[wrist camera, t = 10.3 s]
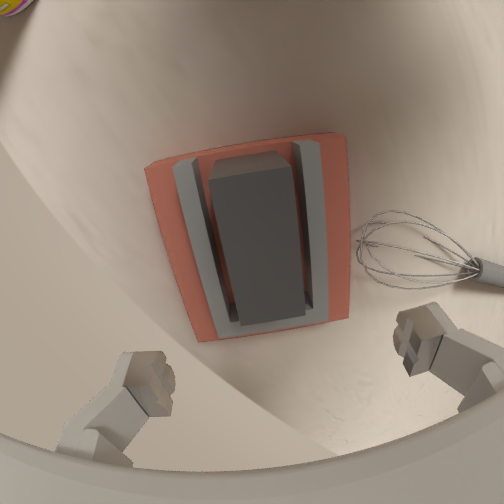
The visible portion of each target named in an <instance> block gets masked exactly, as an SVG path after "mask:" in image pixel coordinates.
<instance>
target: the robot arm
mask: <svg viewBox="0 0 504 504" xmlns="http://www.w3.org/2000/svg"><path fill="white" fill-rule="evenodd" d="M396 321H397V323H398V324H399V325H398V326H397V327H396V328H395V329H394V334H393V342H394V346H395V349H396V351H397V353H398V355H400V356H402V357H404V360H403V365H404V367H405V369H406V371H407V373H408V375H409V377H411V376H414V375H417V374H420V373H423V372H426V371H429V370H430V371H429V372H431V373H432V374H434V375H435V376H437V377H438V378H439V379H441V380H442V381H444V382H445V383H447V384H448V385H449V386H451V387H452V388H454V389H455V390H457V391H458V392H459V393H461V394H462V395H464V396H465V397H464V398H463V400H462V401H461V403H460V404H459V406H458V408H457V410H458V412H459V414H457V415H454V416H452V417H450V418H448V419H446V420H444V421H442V422H439V423H437V424H435V425H432V426H430V427H428V428H425V429H423V430H420V431H418V432H415V433H413V434H410V435H407V436H404V437H402V438H399V439H396V440H393V441H390V442H387V443H384V444H381V445H378V446H374V447H371V448H368V449H364V450H361V451H357V452H353V453H349V454H345V455H341V456H337V457H332V458H328V459H323V460H318V461H313V462H308V463H302V464H296V465H289V466H282V467H274V468H265V469H255V470H242V471H224V472H184V471H183V472H182V471H165V470H151V469H142V468H133V462H132V461H131V460H130V459H129V458H128V457H127V456H125V455H124V454H123V453H122V452H123V450H124V449H125V448H126V447H127V446H128V444H129V443H130V442H131V440H132V439H133V438H134V437H135V435H136V434H137V433H138V431H139V430H140V429H141V427H142V426H143V425H144V424H145V422H146V421H147V420H148V419H149V417H159V416H171V410H172V403H173V401H172V399H171V397H170V395H171V394H172V393H173V392H174V390H175V376H174V372H173V370H172V368H171V366H170V365H168V364H166V356H165V355H164V353H163V352H162V351H144V352H123V353H122V354H121V355H120V357H119V360H118V363H117V365H116V368H115V371H114V374H113V377H112V379H111V382H110V386H109V387H105V388H104V389H103V390H102V391H100V392H99V393H98V394H97V395H96V396H95V397H94V398H93V399H92V400H90V401H89V402H88V403H87V404H86V405H85V406H84V407H83V408H81V409H80V410H79V411H78V412H77V413H76V414H75V415H74V416H73V417H72V418H70V419H69V420H68V421H67V422H66V423H65V424H64V427H63V430H62V433H61V435H60V438H59V441H58V444H57V447H56V451H55V452H53V451H50V450H47V449H43V448H40V447H37V446H34V445H31V444H28V443H25V442H22V441H19V440H17V439H14V438H11V437H9V436H6V435H4V434H2V433H0V504H504V348H503V347H501V346H499V345H496V344H494V343H492V342H490V341H488V340H486V339H483V338H481V337H479V336H477V335H475V334H472V333H470V332H468V331H466V330H464V329H457V327H456V326H455V325H454V323H453V322H452V321H451V320H450V318H449V317H448V316H447V314H446V313H445V312H444V311H443V309H442V308H441V307H440V306H439V304H438V303H436V302H432V303H428V304H425V305H423V306H418V307H415V308H411V309H408V310H404V311H400V312H399V313H398V315H397V319H396Z"/></svg>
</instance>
